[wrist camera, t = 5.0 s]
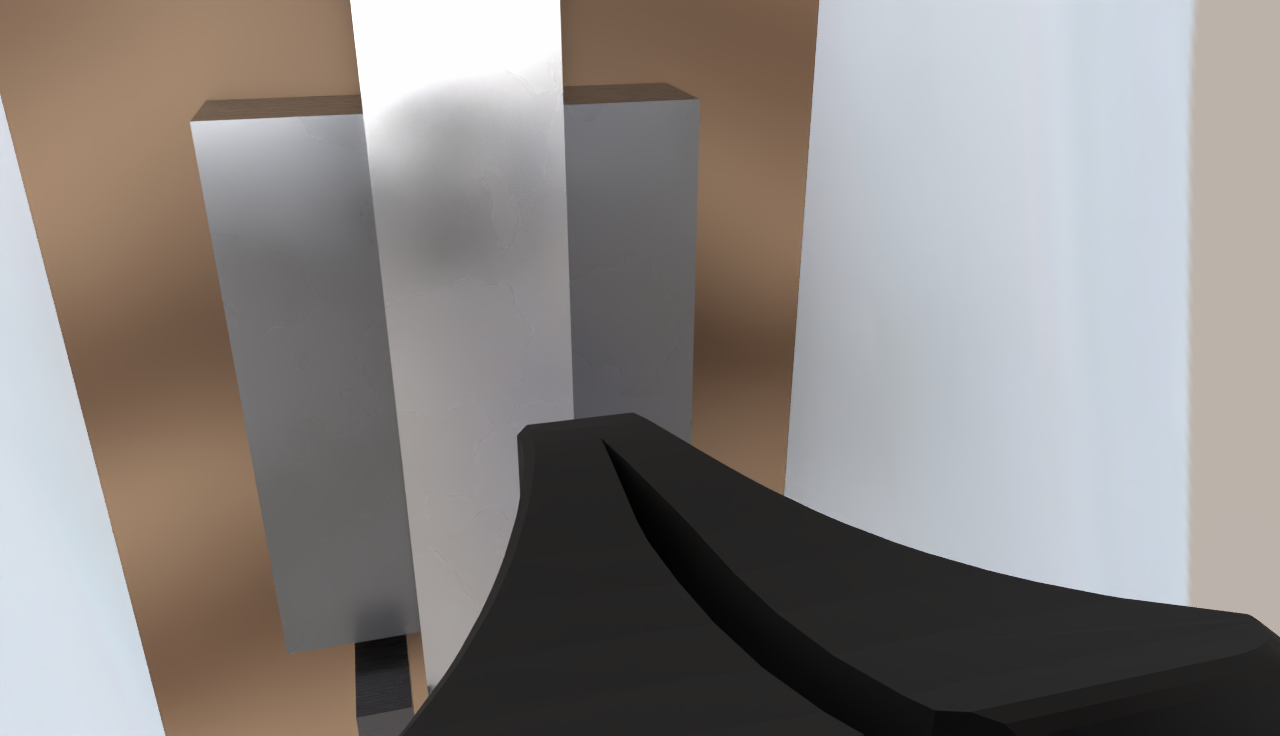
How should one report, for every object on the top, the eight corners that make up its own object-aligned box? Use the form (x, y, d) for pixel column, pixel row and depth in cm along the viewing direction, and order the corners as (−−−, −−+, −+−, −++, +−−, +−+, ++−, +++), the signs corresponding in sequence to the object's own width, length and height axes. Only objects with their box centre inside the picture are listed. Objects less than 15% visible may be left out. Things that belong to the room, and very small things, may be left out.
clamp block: (659, 592, 23) (716, 711, 20) (302, 652, 21) (295, 797, 18) (668, -202, 17) (757, -235, 13) (149, -219, 15) (89, -264, 11)
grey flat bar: (574, 671, 21) (588, 714, 19) (428, 698, 20) (433, 745, 19) (548, -26, 15) (565, -24, 14) (347, -24, 15) (348, -21, 13)
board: (749, 644, 27) (770, 681, 25) (190, 749, 23) (182, 798, 22) (799, -212, 18) (835, -222, 17) (-53, -244, 15) (-91, -260, 14)
